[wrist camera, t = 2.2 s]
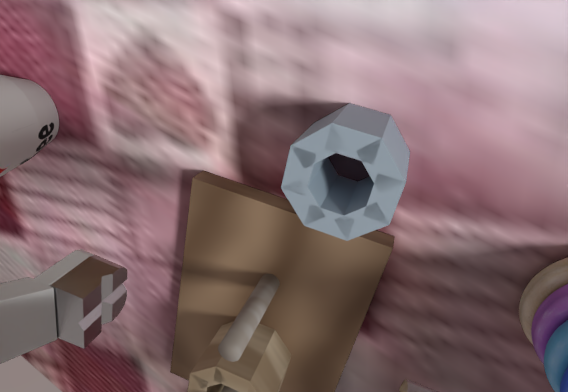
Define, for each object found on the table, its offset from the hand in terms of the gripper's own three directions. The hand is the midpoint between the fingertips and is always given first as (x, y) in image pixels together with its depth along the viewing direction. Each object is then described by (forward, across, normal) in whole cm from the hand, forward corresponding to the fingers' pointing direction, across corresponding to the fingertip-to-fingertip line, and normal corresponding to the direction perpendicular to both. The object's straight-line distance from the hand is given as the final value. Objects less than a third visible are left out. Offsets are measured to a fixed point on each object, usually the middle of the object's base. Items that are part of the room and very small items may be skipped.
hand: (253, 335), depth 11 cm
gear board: (+16, +3, +14) cm, 22 cm away
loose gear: (+16, 0, 0) cm, 16 cm away
